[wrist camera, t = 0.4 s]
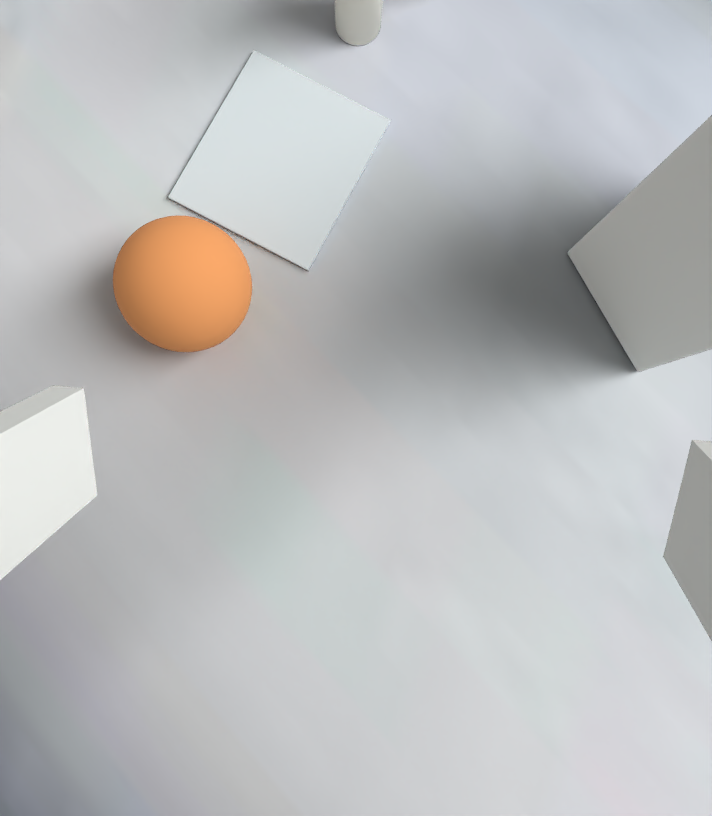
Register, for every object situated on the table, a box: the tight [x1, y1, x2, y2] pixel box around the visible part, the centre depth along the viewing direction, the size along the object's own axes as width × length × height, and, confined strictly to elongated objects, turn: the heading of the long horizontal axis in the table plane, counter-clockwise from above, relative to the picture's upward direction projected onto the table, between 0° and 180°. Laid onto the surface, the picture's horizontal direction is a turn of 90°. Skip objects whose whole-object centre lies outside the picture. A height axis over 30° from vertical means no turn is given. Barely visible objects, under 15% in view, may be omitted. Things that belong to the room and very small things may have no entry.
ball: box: [113, 216, 252, 352], centre depth 27 cm, size 6×6×6 cm
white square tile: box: [168, 50, 391, 271], centre depth 31 cm, size 9×8×1 cm
